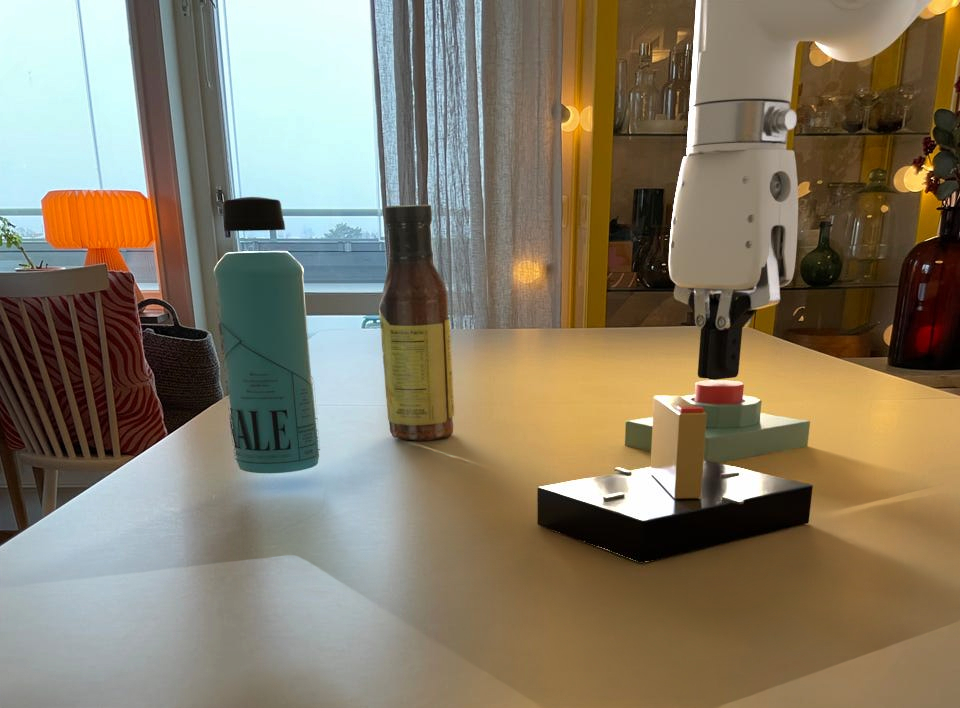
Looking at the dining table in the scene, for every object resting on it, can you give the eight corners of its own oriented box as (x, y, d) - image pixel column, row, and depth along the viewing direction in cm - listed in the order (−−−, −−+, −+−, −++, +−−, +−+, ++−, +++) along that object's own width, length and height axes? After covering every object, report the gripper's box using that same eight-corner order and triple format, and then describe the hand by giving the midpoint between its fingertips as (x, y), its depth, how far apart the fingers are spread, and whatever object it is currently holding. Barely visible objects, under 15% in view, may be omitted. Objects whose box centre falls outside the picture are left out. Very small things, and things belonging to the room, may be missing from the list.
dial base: (690, 491, 69) (692, 454, 68) (816, 525, 61) (821, 484, 60) (531, 523, 62) (531, 482, 61) (648, 567, 54) (650, 520, 53)
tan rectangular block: (650, 473, 64) (654, 391, 62) (674, 472, 64) (678, 391, 62) (674, 499, 57) (679, 409, 55) (701, 498, 57) (707, 408, 55)
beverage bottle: (315, 471, 78) (292, 198, 70) (330, 489, 72) (306, 194, 64) (233, 478, 76) (199, 199, 68) (241, 498, 70) (206, 195, 62)
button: (717, 399, 85) (719, 378, 84) (752, 404, 82) (754, 383, 81) (684, 403, 83) (685, 382, 82) (718, 409, 80) (720, 387, 79)
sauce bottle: (416, 428, 95) (406, 206, 87) (468, 434, 91) (462, 204, 84) (372, 439, 90) (358, 205, 82) (425, 446, 87) (415, 202, 79)
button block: (722, 430, 91) (725, 386, 89) (807, 446, 83) (813, 399, 81) (624, 446, 85) (625, 399, 83) (706, 465, 77) (710, 414, 76)
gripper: (850, 126, 71) (819, 383, 78) (703, 143, 82) (687, 365, 89) (779, 121, 67) (753, 392, 74) (635, 140, 79) (625, 372, 86)
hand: (717, 377), depth 82 cm, fingers closed
